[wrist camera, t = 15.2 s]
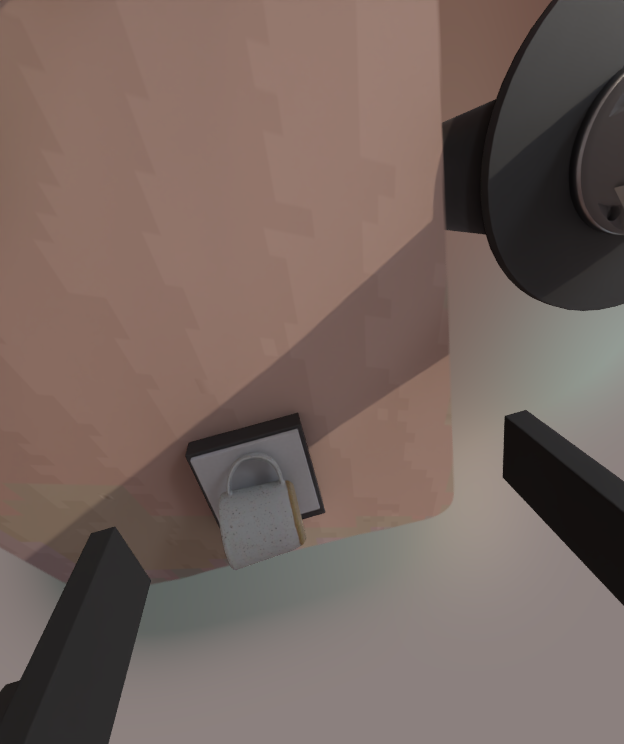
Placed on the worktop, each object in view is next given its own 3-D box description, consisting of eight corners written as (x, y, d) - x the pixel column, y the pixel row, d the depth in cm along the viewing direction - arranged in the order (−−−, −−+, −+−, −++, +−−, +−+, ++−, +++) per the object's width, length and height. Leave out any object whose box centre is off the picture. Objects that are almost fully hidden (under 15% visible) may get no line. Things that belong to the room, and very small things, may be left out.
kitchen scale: (298, 412, 42) (301, 427, 39) (321, 498, 48) (326, 516, 45) (188, 442, 41) (184, 459, 38) (226, 526, 47) (225, 546, 44)
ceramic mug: (302, 509, 44) (312, 565, 37) (236, 527, 43) (234, 587, 36) (284, 439, 39) (291, 488, 32) (210, 458, 39) (201, 511, 32)
